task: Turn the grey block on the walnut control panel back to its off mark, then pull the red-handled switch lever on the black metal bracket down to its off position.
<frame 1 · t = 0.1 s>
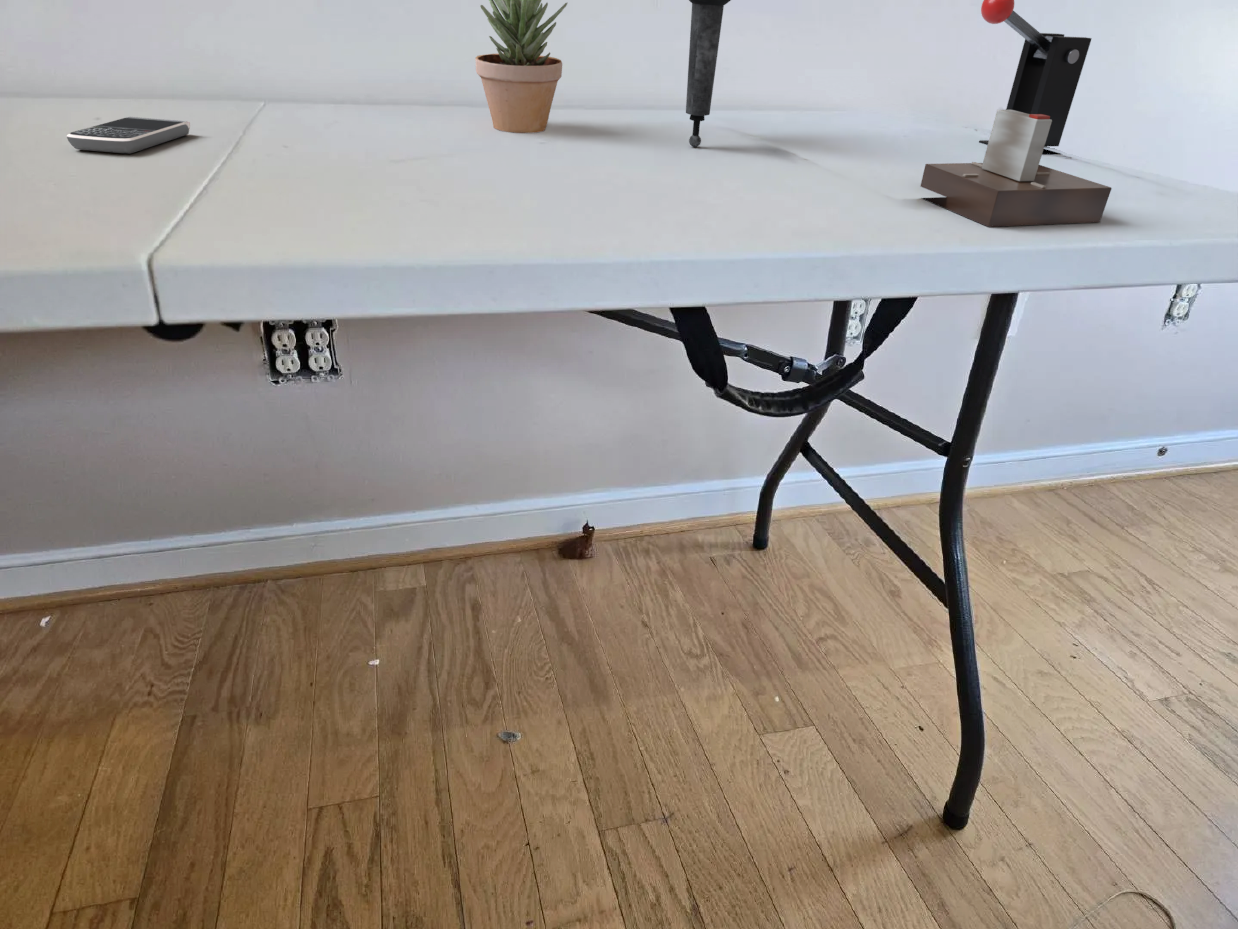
grey block: (1015, 143, 74), point 6 cm above the table, hinge at 90.0°
potted plant: (521, 129, 98), on the table
panel: (1006, 209, 77), on the table
bracket: (1023, 156, 100), on the table
switch lever: (1025, 30, 92), point 13 cm above the table, hinge at 25.0°
dark grey tapered rod: (694, 148, 94), on the table
cell phone: (134, 144, 81), on the table
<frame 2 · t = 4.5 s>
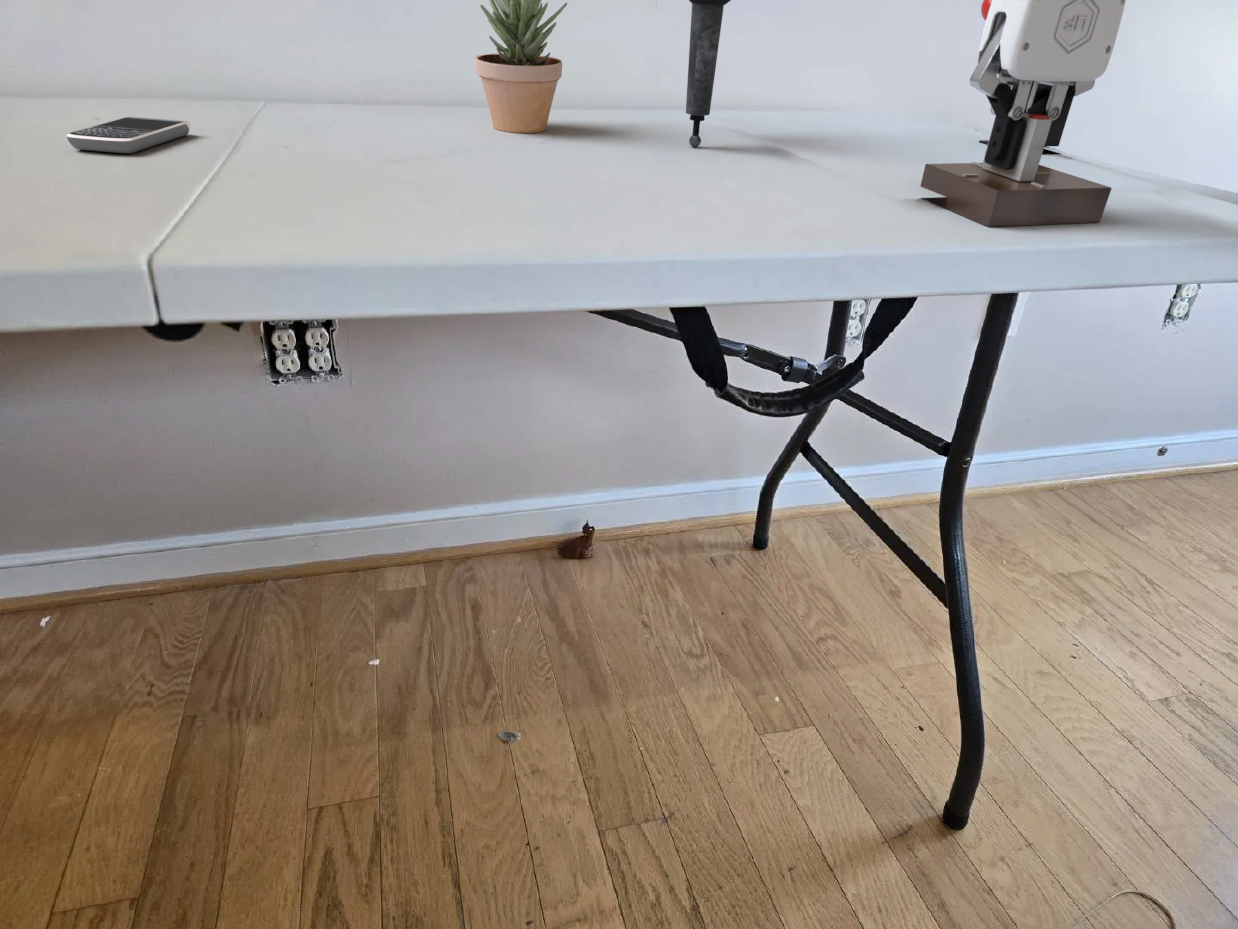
hand: (1009, 164, 75), 4 cm above the table, tool pointing down, fingers closed on grey block
grey block: (1015, 143, 74), point 6 cm above the table, hinge at 90.0°, touching gripper
everything else where it was.
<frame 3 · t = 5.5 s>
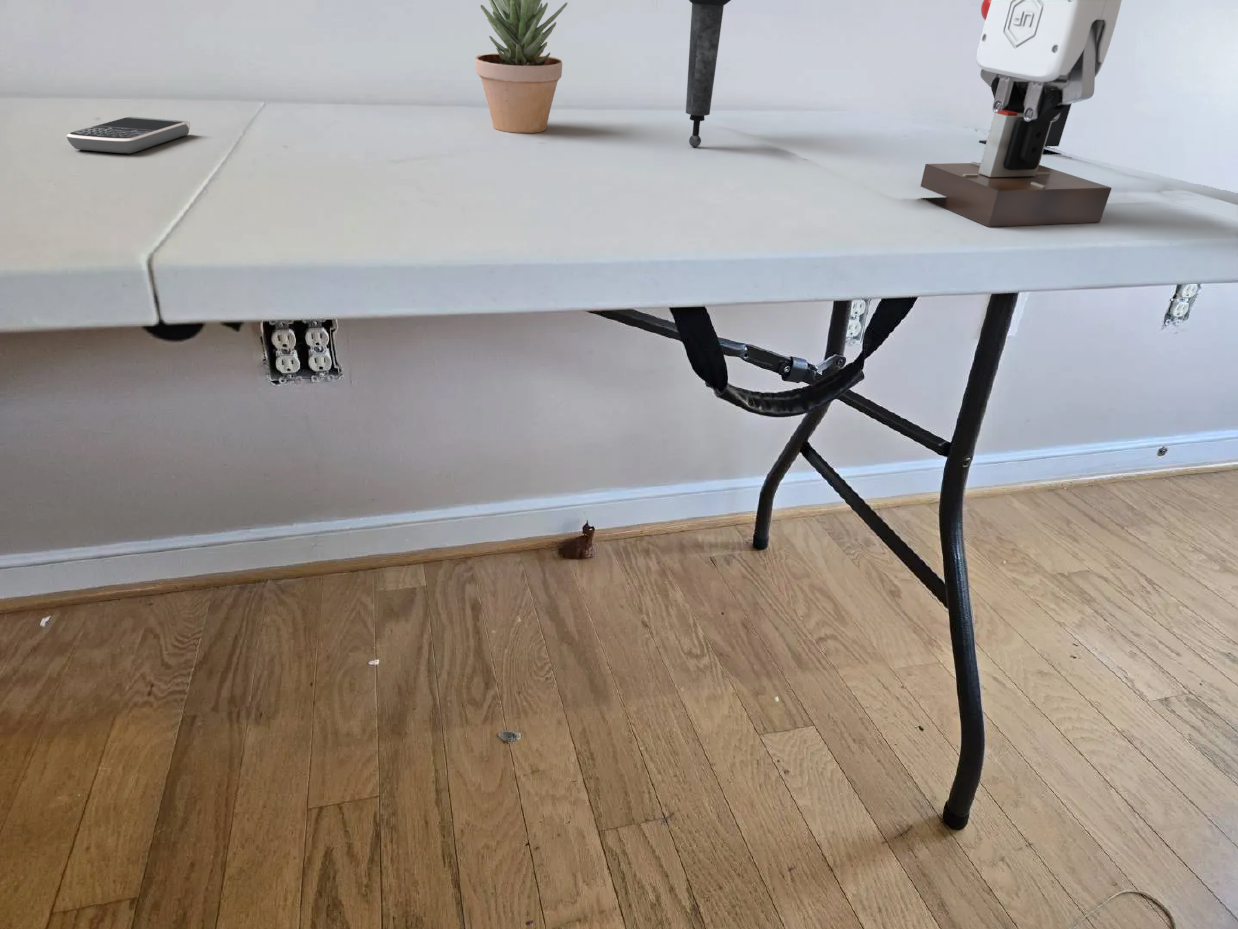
hand: (1010, 164, 75), 4 cm above the table, tool pointing down, fingers closed on grey block
grey block: (1015, 143, 74), point 6 cm above the table, hinge at 0.3°, touching gripper
everything else where it was.
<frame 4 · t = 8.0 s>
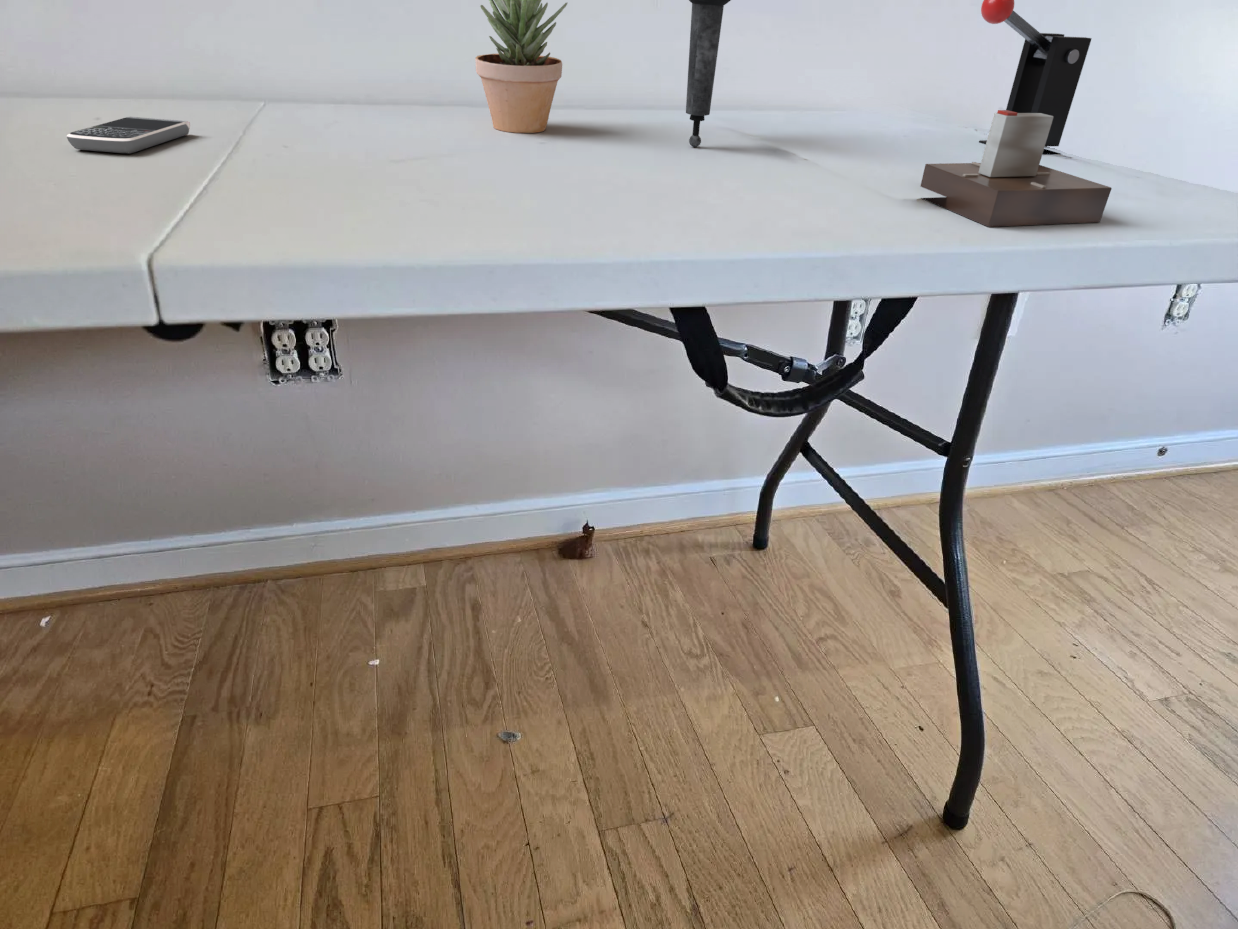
grey block: (1015, 143, 74), point 6 cm above the table, hinge at 0.3°
everything else where it was.
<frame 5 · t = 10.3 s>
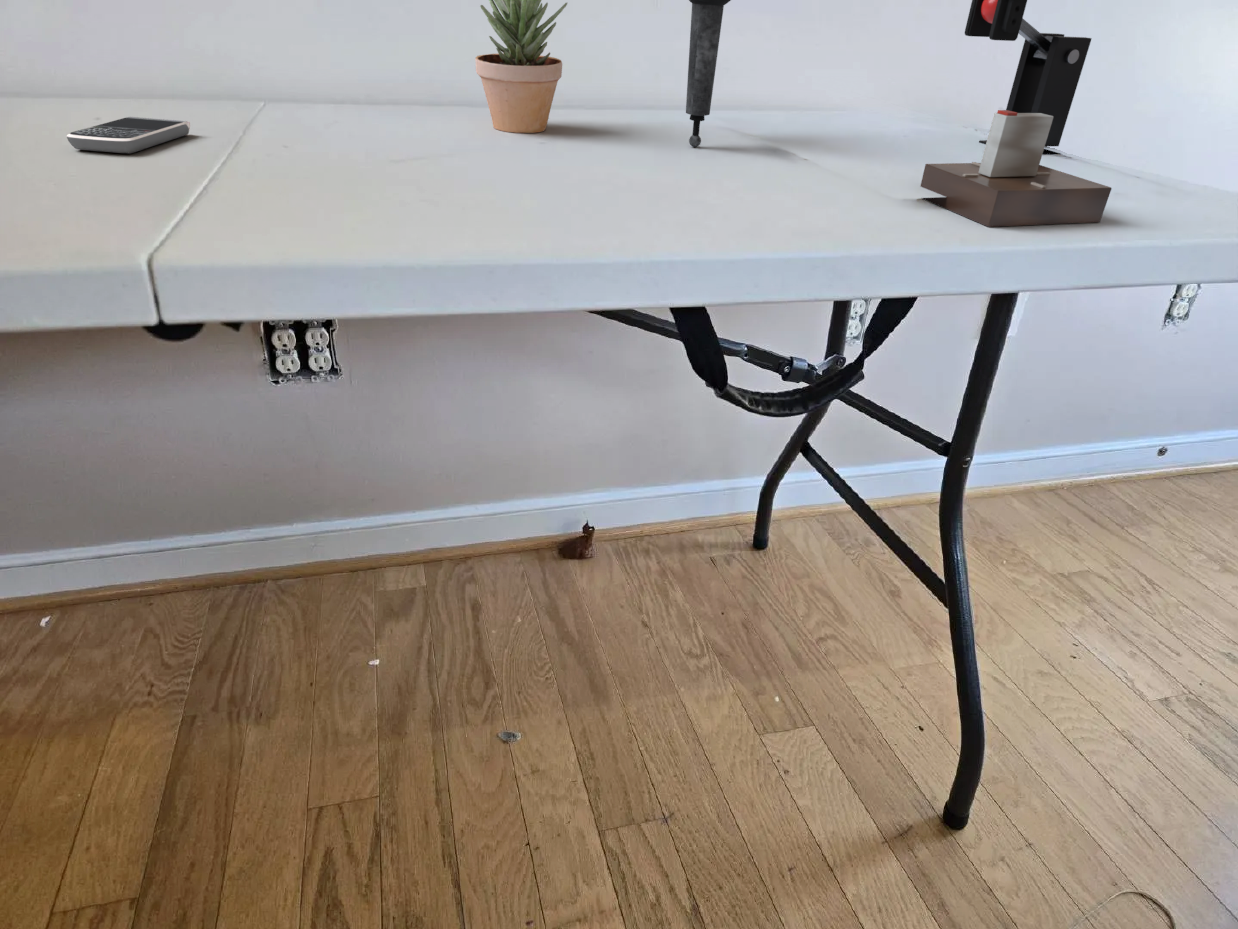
hand: (990, 36, 91), 12 cm above the table, tool pointing down, fingers closed on switch lever, 3 cm apart
switch lever: (1025, 30, 92), point 13 cm above the table, hinge at 25.0°, touching gripper
everything else where it was.
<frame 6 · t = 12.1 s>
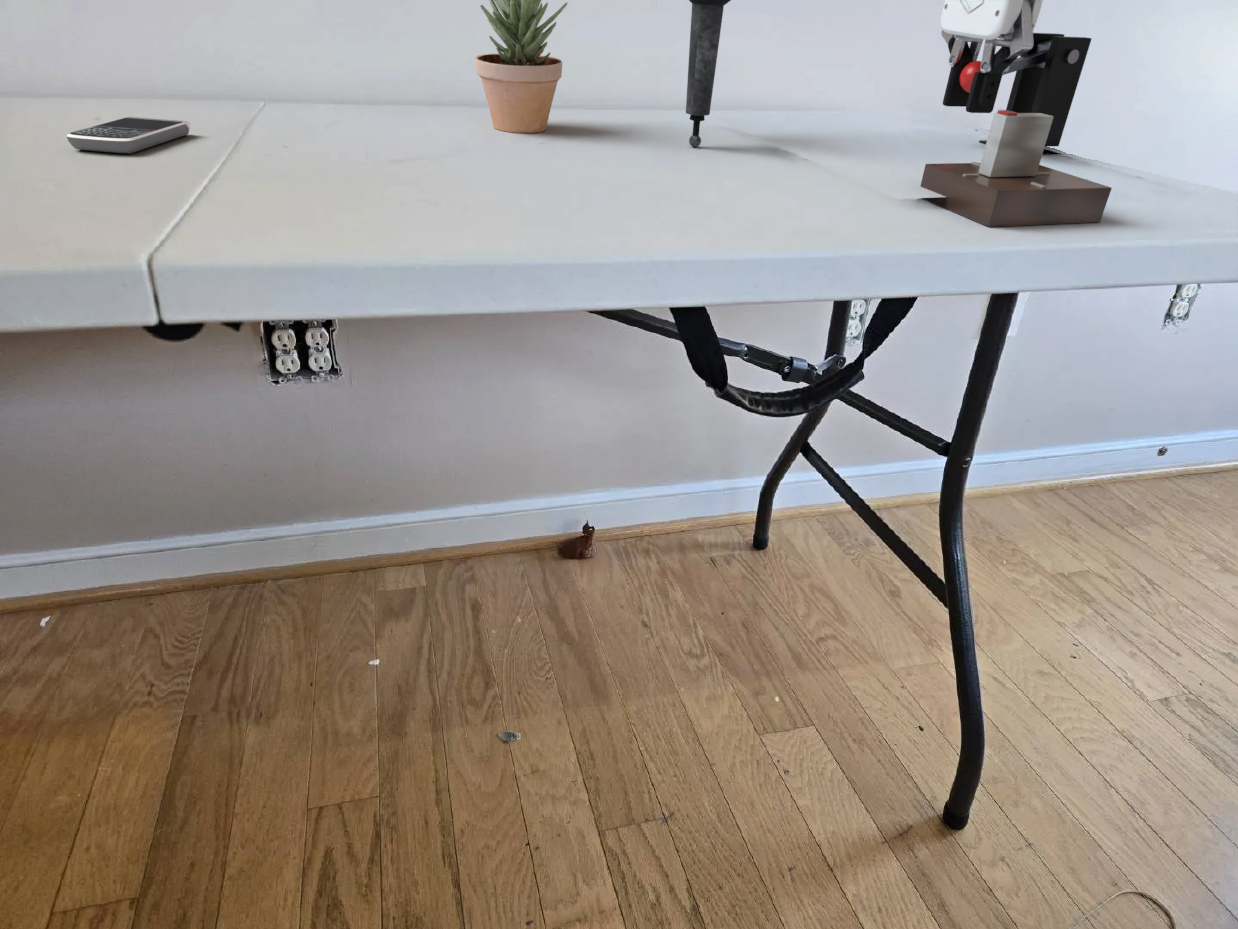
hand: (967, 107, 94), 5 cm above the table, tool pointing down, fingers closed on switch lever, 3 cm apart
switch lever: (1014, 65, 93), point 10 cm above the table, hinge at -14.9°, touching gripper
everything else where it was.
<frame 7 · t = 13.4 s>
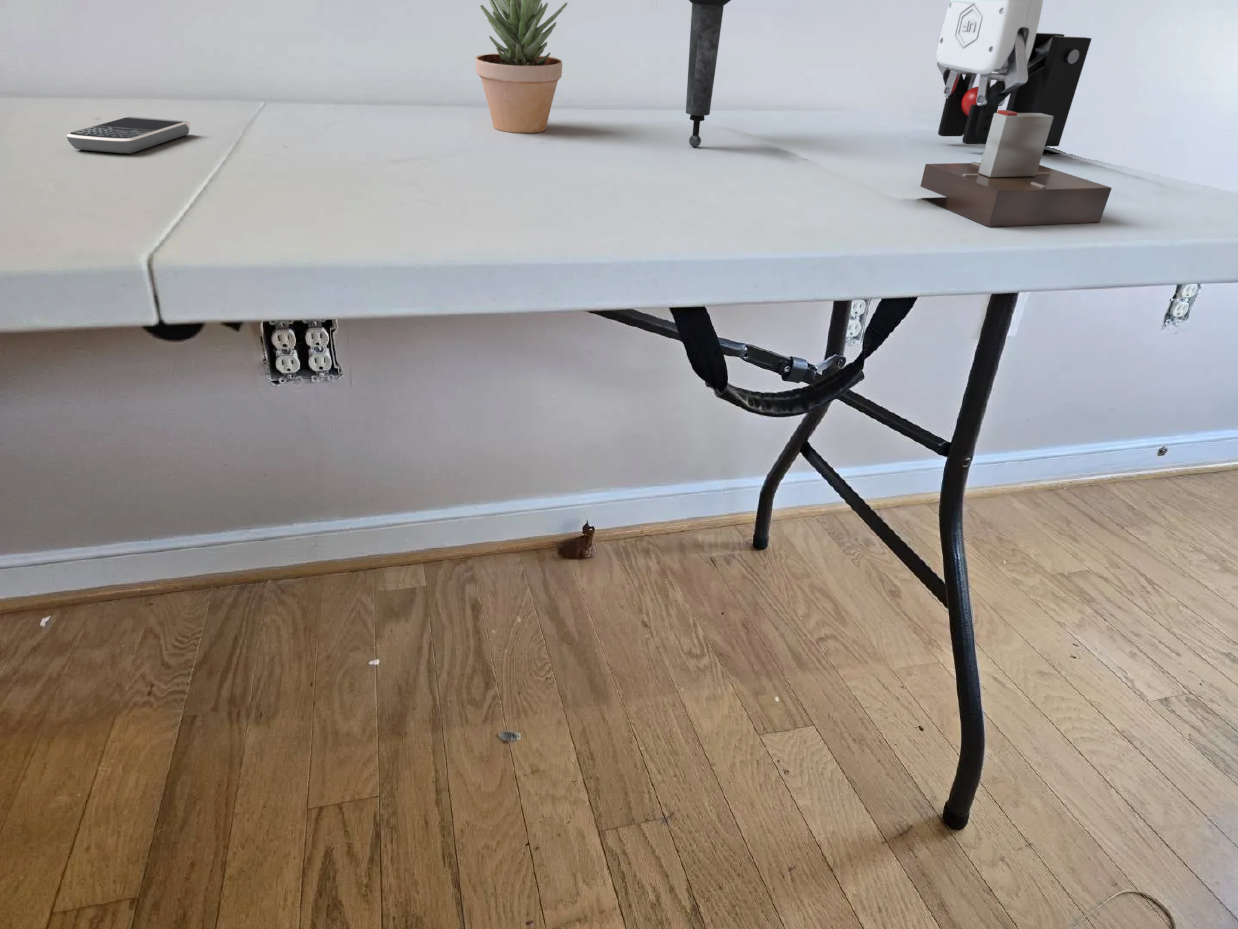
hand: (962, 137, 96), 2 cm above the table, tool pointing down, fingers open, 3 cm apart
switch lever: (1014, 78, 94), point 8 cm above the table, hinge at -30.6°
everything else where it was.
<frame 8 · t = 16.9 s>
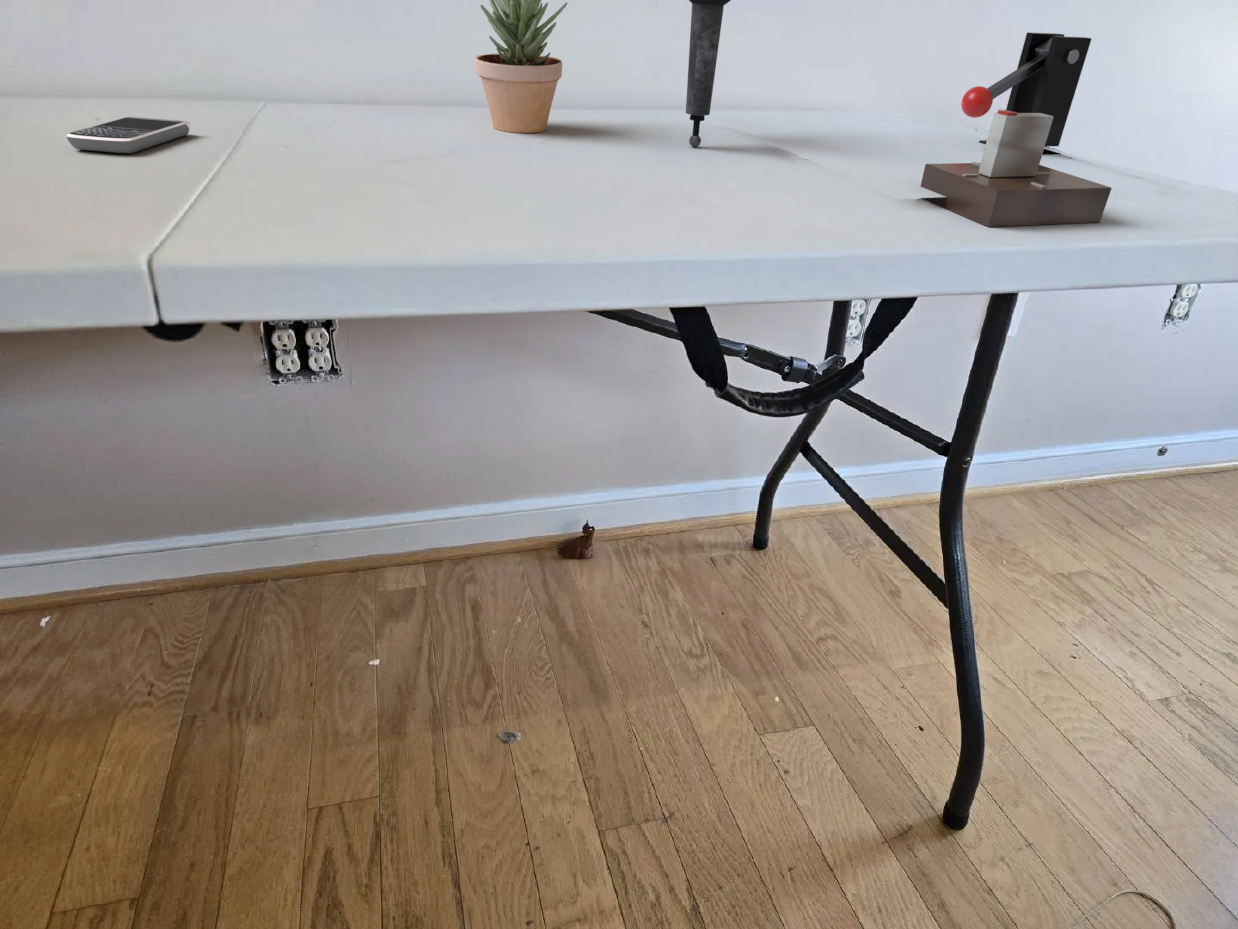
nothing on the table moved.
at the end: grey block at +0° (first picture: +90°); switch lever at -30° (first picture: +25°) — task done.
